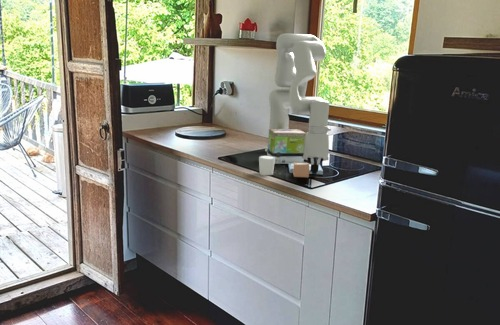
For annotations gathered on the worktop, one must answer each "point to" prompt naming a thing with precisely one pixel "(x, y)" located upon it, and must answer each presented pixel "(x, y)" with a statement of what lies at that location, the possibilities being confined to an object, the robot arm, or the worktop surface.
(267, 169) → the shot glass
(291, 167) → the blue microchip card
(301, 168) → the cardboard box
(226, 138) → the worktop surface
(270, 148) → the tea box
